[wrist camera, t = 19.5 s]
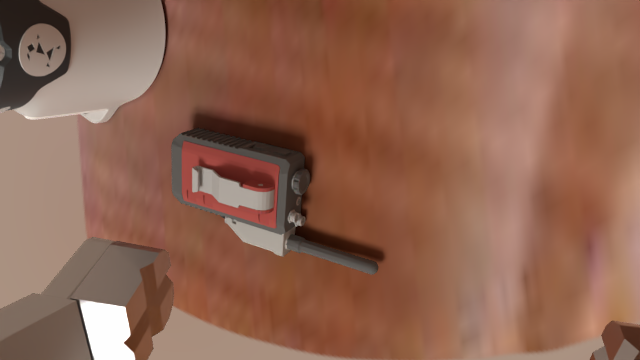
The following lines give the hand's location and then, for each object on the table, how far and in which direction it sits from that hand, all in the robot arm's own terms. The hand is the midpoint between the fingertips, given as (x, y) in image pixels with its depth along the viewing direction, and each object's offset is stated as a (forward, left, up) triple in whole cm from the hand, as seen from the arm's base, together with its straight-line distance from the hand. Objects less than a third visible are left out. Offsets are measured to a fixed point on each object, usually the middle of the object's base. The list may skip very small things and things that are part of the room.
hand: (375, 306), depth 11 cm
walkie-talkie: (-17, -15, -30) cm, 37 cm away
